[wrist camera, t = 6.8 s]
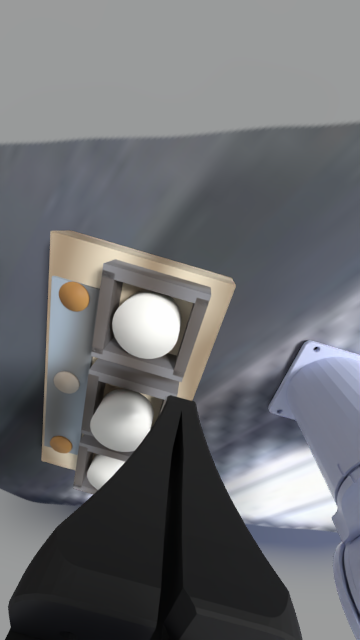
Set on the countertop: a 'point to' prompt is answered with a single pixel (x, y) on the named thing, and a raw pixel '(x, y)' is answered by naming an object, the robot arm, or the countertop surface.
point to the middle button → (122, 420)
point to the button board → (102, 347)
